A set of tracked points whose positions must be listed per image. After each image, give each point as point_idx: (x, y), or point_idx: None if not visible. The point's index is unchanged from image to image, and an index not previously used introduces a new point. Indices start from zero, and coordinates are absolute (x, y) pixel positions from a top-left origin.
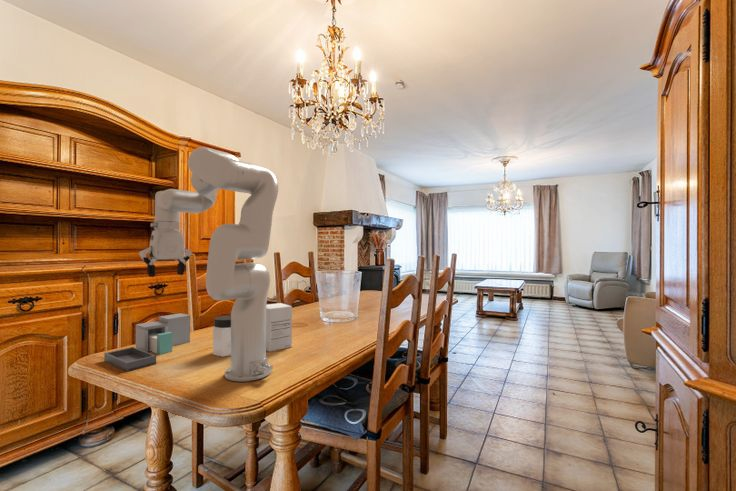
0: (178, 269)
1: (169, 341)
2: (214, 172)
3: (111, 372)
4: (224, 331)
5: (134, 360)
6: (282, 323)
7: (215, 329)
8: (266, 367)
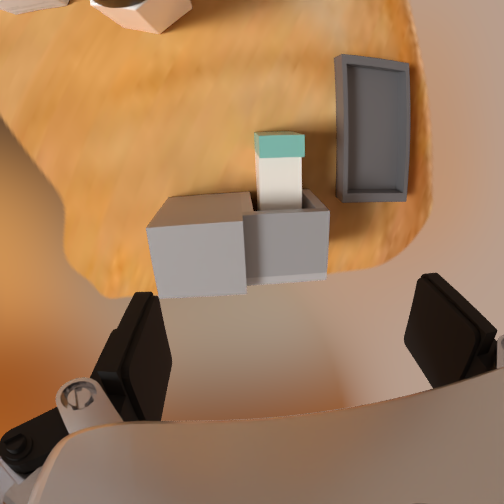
0: (160, 377)
1: (266, 133)
2: None
3: (417, 92)
4: None
5: (391, 65)
6: None
7: None
8: None
